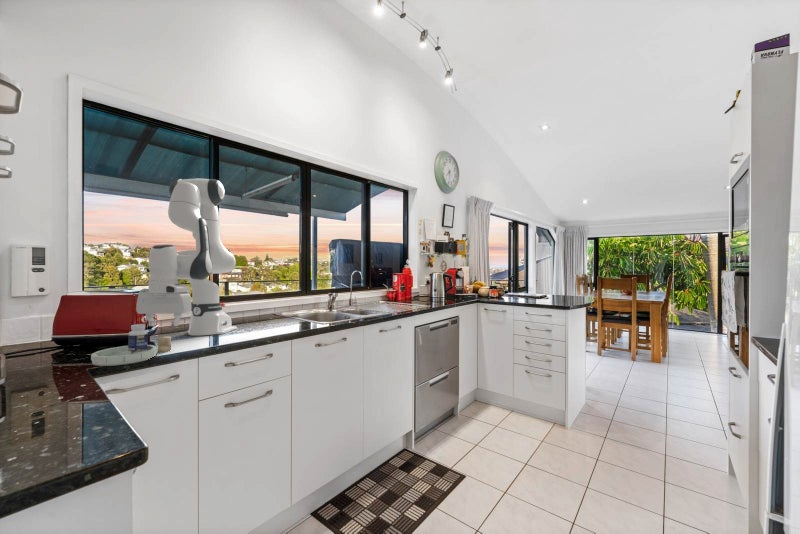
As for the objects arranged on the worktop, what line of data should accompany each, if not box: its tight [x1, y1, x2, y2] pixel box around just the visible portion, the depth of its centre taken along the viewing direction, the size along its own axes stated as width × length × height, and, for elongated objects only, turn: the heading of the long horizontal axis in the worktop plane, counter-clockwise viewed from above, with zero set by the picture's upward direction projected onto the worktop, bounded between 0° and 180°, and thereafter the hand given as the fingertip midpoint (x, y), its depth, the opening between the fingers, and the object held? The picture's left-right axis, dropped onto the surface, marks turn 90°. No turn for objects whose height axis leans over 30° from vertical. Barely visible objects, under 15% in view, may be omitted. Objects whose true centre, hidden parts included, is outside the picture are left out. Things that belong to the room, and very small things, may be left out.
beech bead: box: [157, 336, 172, 353], centre depth 127 cm, size 4×4×5 cm
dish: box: [90, 344, 158, 367], centre depth 117 cm, size 17×17×3 cm
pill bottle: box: [127, 323, 149, 354], centre depth 121 cm, size 5×5×10 cm
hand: (163, 325), depth 127 cm, fingers open, 8 cm apart
